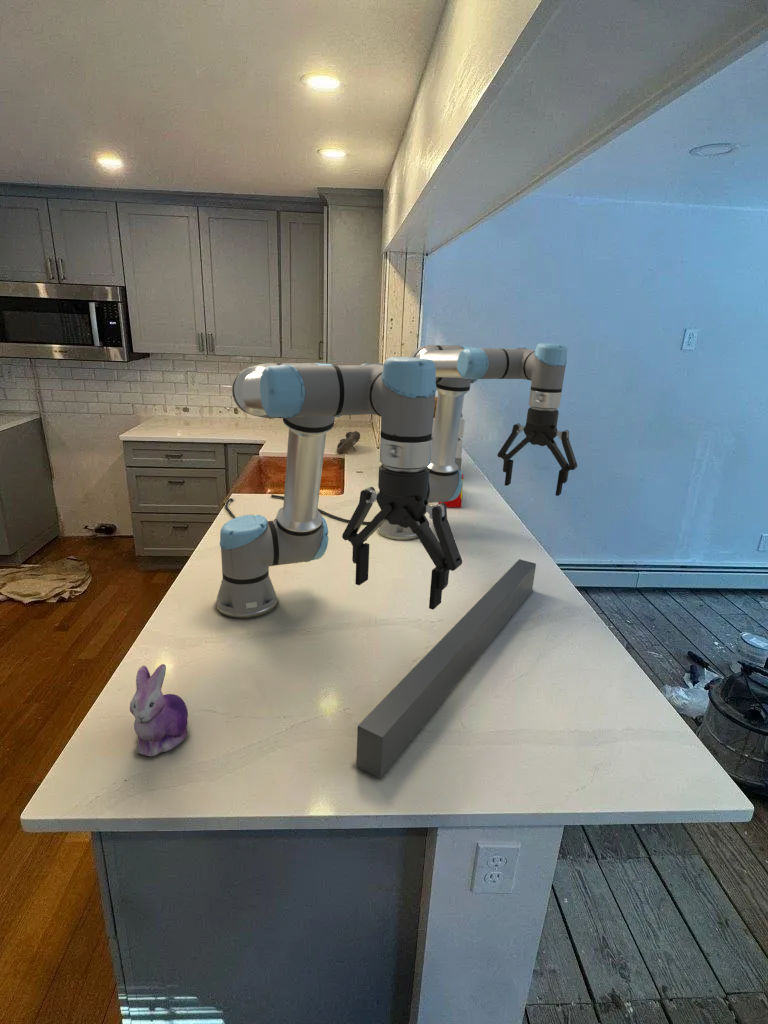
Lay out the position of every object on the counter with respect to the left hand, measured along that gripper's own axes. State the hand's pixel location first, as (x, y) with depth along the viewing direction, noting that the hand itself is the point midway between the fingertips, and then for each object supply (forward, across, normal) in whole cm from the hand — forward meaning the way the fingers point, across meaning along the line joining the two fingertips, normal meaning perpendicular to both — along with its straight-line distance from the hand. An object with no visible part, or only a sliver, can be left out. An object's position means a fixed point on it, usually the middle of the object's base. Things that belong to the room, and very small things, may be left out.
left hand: (397, 593), depth 91 cm
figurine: (+32, -35, -20) cm, 51 cm away
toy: (+32, -56, +140) cm, 154 cm away
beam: (+32, 0, +35) cm, 48 cm away
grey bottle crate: (+32, -82, +166) cm, 187 cm away
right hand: (0, 0, +71) cm, 71 cm away
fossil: (+32, -134, +181) cm, 228 cm away
